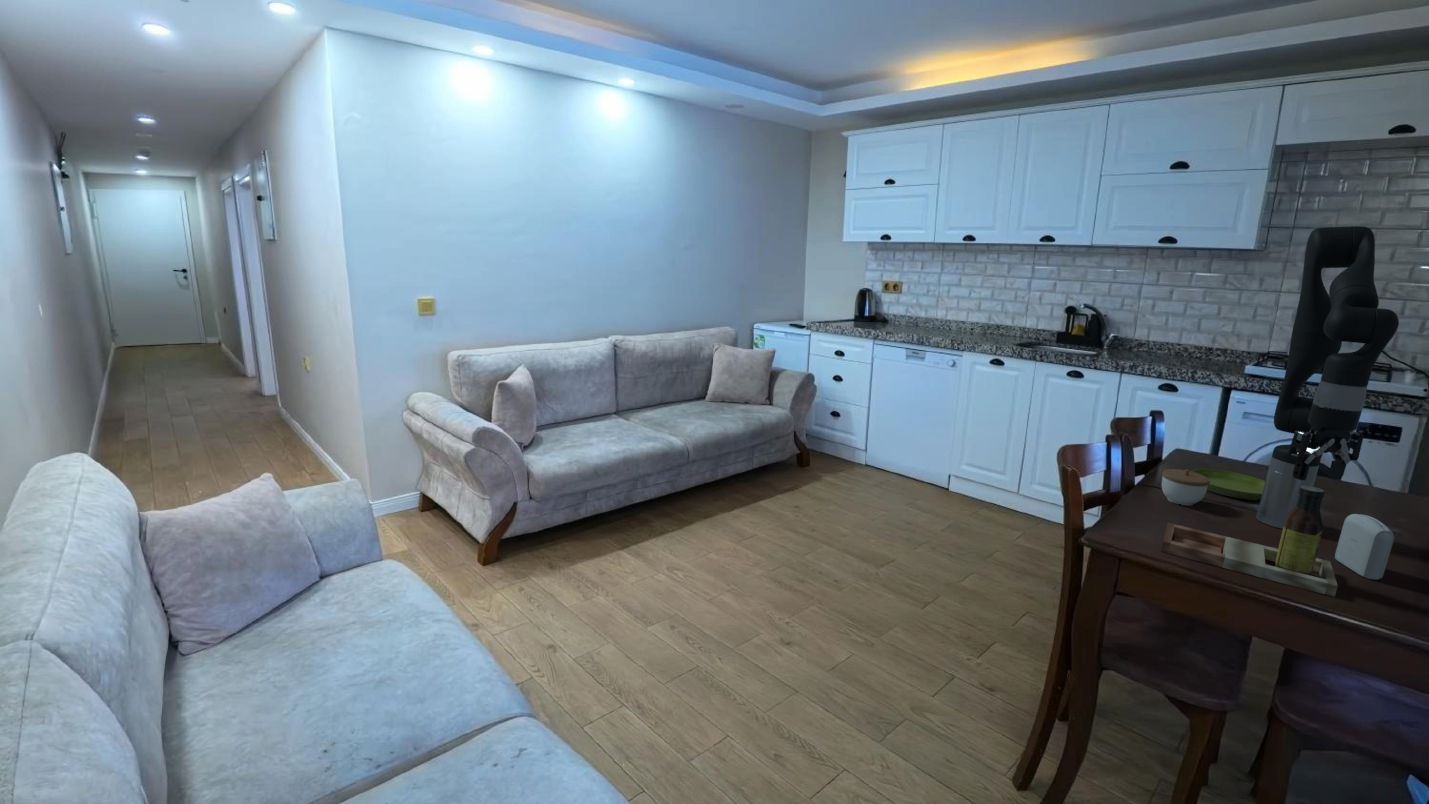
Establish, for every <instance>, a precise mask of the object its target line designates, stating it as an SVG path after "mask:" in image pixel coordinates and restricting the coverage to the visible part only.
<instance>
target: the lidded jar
mask: <svg viewBox="0 0 1429 804" xmlns="http://www.w3.org/2000/svg"><path fill="white" fill-rule="evenodd" d="M1209 483H1210V480H1209V479H1208V478H1207V477H1205V476H1203V475H1201V474H1198V473H1194V472H1191V470H1189V469H1187V468H1186V469H1175V468H1170V469H1169V468H1167V469H1164V470H1163V471H1162V477H1161V490H1162V492H1163V494H1164V496H1165V497H1166V498H1167V500H1168V501H1169V502H1171V503H1173V504H1176V505H1179V504H1181V506H1185V505H1186V506H1185V507H1187V506H1188V507H1190V506H1194V505H1195V504H1197V503H1199V502H1200V501H1201V500H1203V498H1204V497H1205V495H1206V494H1207V491H1208V490H1207V488H1208V485H1209Z"/></svg>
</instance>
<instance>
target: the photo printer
mask: <svg viewBox="0 0 1429 804" xmlns="http://www.w3.org/2000/svg"><path fill="white" fill-rule="evenodd" d="M1394 541H1395V535H1394V533H1393V531H1392V530H1391V528H1389V527H1388V526H1387V525H1386V524H1384V522H1382V521H1380V520H1379V519H1377V518H1375V517H1372V516H1370V515H1366V514H1359V513H1352V514H1349V515H1348V516H1347V517H1346V518H1345V519H1344V522H1343V525H1342V529H1341V532H1340V535H1339V538H1338V543H1337V547H1336V549H1335V555H1334V559H1335V560H1336V561H1338V562H1339V563H1341V565H1343V566H1345V567H1347V568H1349V569H1350V570H1351V571H1353V572H1355V573H1356V574H1358V575H1360V576H1361V577H1364V578H1365V579H1369V580H1377V581H1379V580H1380V579H1382V578H1383V576H1384V575H1385V574H1384V573H1385V571H1386V567H1387V564H1388V561H1389V557H1390V554H1391V550H1392V548H1393V543H1394Z"/></svg>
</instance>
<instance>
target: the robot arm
mask: <svg viewBox="0 0 1429 804" xmlns="http://www.w3.org/2000/svg"><path fill="white" fill-rule="evenodd" d="M1375 241H1376V239H1375V234H1374V232H1373V231H1372V229H1371V228H1370V227H1367V226H1363V225H1362V226H1360V225H1357V226H1356V225H1354V226H1353V225H1352V226H1332V227H1331V226H1330V227H1329V226H1328V227H1317V228H1314V229H1313V230H1312V231H1311V232H1310V234H1309V236H1308V239H1307V241H1306V246H1305V253H1304V259H1303V260H1304V263H1303V271H1302V279H1301V287H1300V288H1301V289H1300V292H1299V293H1300V295H1299V299H1298V305H1297V309H1296V313H1295V318H1294V322H1293V326H1292V332H1291V337H1290V343H1289V349H1288V357H1287V362H1286V367H1285V373H1284V377H1283V382H1282V384H1281V388H1280V389H1281V390H1280V392H1279V396H1278V399H1277V403H1276V407H1275V410H1274V416H1273V425H1274V428H1275V429H1276V430H1278V431H1281V432H1284V433H1288V434H1293V436H1292V437H1293V438H1292V439H1291V443H1290V444H1279V445H1276V446H1275V447H1274V448H1273V451H1272V454H1271V458H1270V462H1269V466H1268V470H1267V475H1266V478H1265V480H1264V481H1265V485H1264V489H1263V493H1262V497H1261V500H1259V506H1258V509H1257V512H1256V516H1255V518H1256V519H1257V521H1259V522H1261V523H1262V524H1266V525H1268V526H1270V527H1274V528H1278V529H1282V530H1283V527H1284V525H1285V521H1286V517H1287V514H1288V513H1289V512H1290V511H1291V510H1293V509H1294V508H1295V506H1296V503H1297V501H1298V497H1299V492H1298V491H1299V488H1300V486H1311V487H1315V486H1314V485H1315V482H1316V478H1317V474H1318V470H1319V467H1320V465H1321V460H1322V457H1323V455H1324V454H1327V453H1330V454H1331V457H1332V459H1333V460H1331V463H1330V467H1329V471H1328V473H1327V478H1330V479H1332V480H1336V481H1340V480H1342V478H1343V477H1344V475H1345V470H1346V467H1347V465H1349V463H1350V462H1351V461H1353V462H1354V461H1355V462H1356V461H1358V460H1359V457H1360V453H1361V450H1362V445H1363V441H1364V440H1363V439H1364V437H1365V434H1364V433H1361V432H1357V431H1356V430H1357V429H1358V425H1359V422H1360V419H1361V415H1362V412H1363V409H1364V407H1365V406H1364V405H1365V401H1366V398H1367V390H1368V389H1367V388H1368V386H1369V382H1370V378H1371V376H1372V371H1373V369H1374V366H1375V364H1376V362H1377V361H1378V358H1380V356H1381V353H1383V351H1384V350H1385V348H1386V347H1387V346H1388V344H1389V343H1390V342H1391V340H1392V339H1393V337H1394V335H1395V334H1396V333H1397V331H1398V328H1399V325H1400V324H1399V323H1400V322H1399V317H1398V315H1397V313H1396V312H1395V311H1394V310H1391V309H1388V308H1378V307H1379V304H1380V303H1379V302H1380V301H1379V300H1380V299H1379V296H1378V292H1377V289H1376V284H1375V264H1376V263H1375V261H1376V258H1375V257H1376V255H1375V253H1376V242H1375ZM1335 268H1336V269H1340V268H1341V269H1343V268H1345V269H1344V270H1343V271H1342V272H1340V273H1339V274H1338V275H1336V276H1335V277H1334V279H1333V280H1332V281H1331V283H1330V286H1329V291H1327V290H1326V287H1325V284H1324V282H1323V278H1322V271H1323V269H1335ZM1343 342H1344V343H1355V344H1356V343H1357V344H1363V345H1362V346H1361V347H1360V348H1359V349H1357V350H1356V351H1352V352H1340V351H1341V349H1342V343H1343ZM1322 368H1323V370H1322V373H1321V377H1320V381H1319V384H1318V386H1317V388H1316V390H1315V393H1314V398H1313V399H1310V398H1305V397H1304V398H1303V397H1300V396H1299V395H1300V392H1301V389H1302V387H1303V386H1304V385H1305V383H1306V382H1307V381H1308V380H1309V379H1310V378H1311V377H1312V376H1314V375H1315V374H1317V372H1318V371H1320V370H1321V369H1322ZM1351 449H1352V452H1351V453H1350V451H1351Z"/></svg>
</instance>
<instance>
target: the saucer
mask: <svg viewBox="0 0 1429 804" xmlns="http://www.w3.org/2000/svg"><path fill="white" fill-rule="evenodd" d="M1190 472H1194V473H1198V474H1201V475H1203V476H1205V477H1207V478H1208V479H1209V480H1210V483H1209V485H1208V488H1207V491H1209V492H1212V493H1214V494H1217V495H1220V496H1224V497H1228V496H1229V498H1233V497H1234V498H1235V499H1239V498H1240V499H1239V500H1246V499H1248V500H1250V501H1260V500H1261V497H1262V493H1263V489H1264V485H1265V481H1266V480H1264V479H1261V478H1258V477H1255V476H1251V475H1247V474H1243V473H1238V472H1235V471H1228V470H1222V469H1221V470H1220V469H1212V468H1210V469H1209V468H1199V469H1197V468H1196V469H1193V470H1190ZM1248 500H1247V501H1248Z"/></svg>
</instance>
